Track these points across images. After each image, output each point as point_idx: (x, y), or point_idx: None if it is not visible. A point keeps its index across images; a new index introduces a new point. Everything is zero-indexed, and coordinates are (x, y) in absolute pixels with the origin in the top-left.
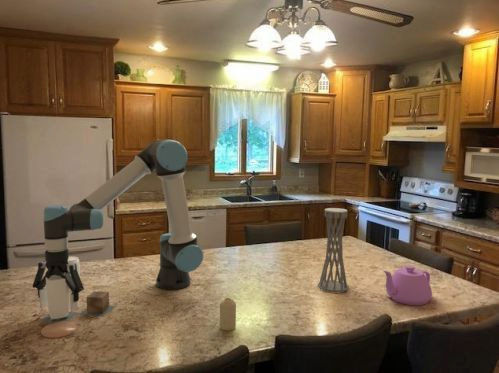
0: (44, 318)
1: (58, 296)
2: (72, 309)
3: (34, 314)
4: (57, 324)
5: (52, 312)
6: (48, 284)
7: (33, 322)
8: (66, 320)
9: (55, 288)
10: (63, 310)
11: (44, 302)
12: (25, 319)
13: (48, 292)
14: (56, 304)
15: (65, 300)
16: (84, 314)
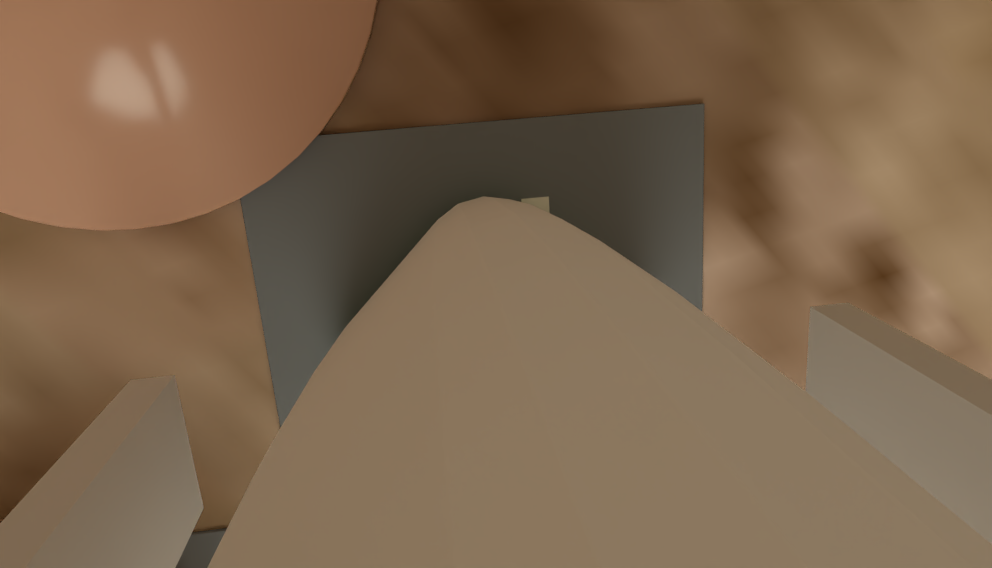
0: (664, 225)
1: (339, 425)
2: (118, 399)
3: (903, 291)
4: (243, 59)
5: (471, 207)
6: (891, 561)
7: (732, 54)
8: (279, 281)
9: (379, 563)
10: (333, 351)
11: (852, 409)
12: (922, 104)
13: (668, 314)
14: (398, 295)
15: (254, 483)
16: (191, 538)
